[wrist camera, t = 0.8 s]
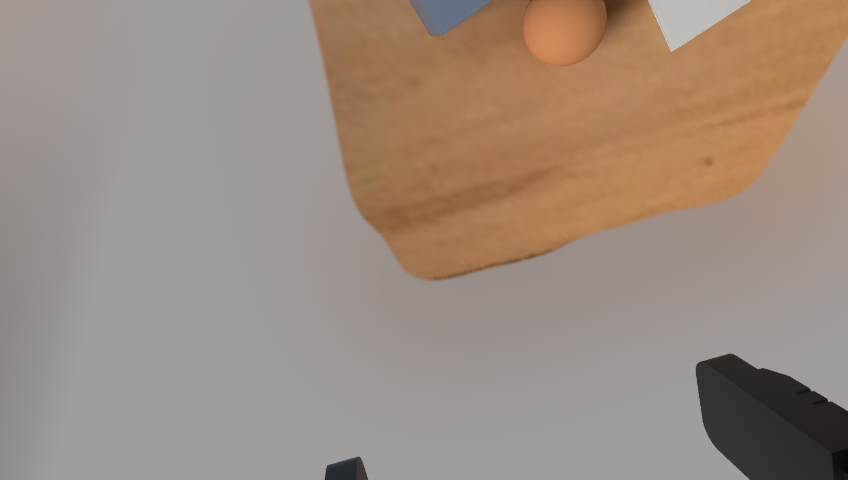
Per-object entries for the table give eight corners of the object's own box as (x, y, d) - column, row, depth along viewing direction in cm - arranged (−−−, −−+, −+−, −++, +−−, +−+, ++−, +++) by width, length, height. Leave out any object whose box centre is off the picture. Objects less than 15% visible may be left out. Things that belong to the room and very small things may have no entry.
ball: (501, 12, 34) (517, 9, 30) (568, -35, 33) (596, -46, 29) (537, 79, 36) (559, 85, 31) (602, 35, 35) (634, 35, 30)
